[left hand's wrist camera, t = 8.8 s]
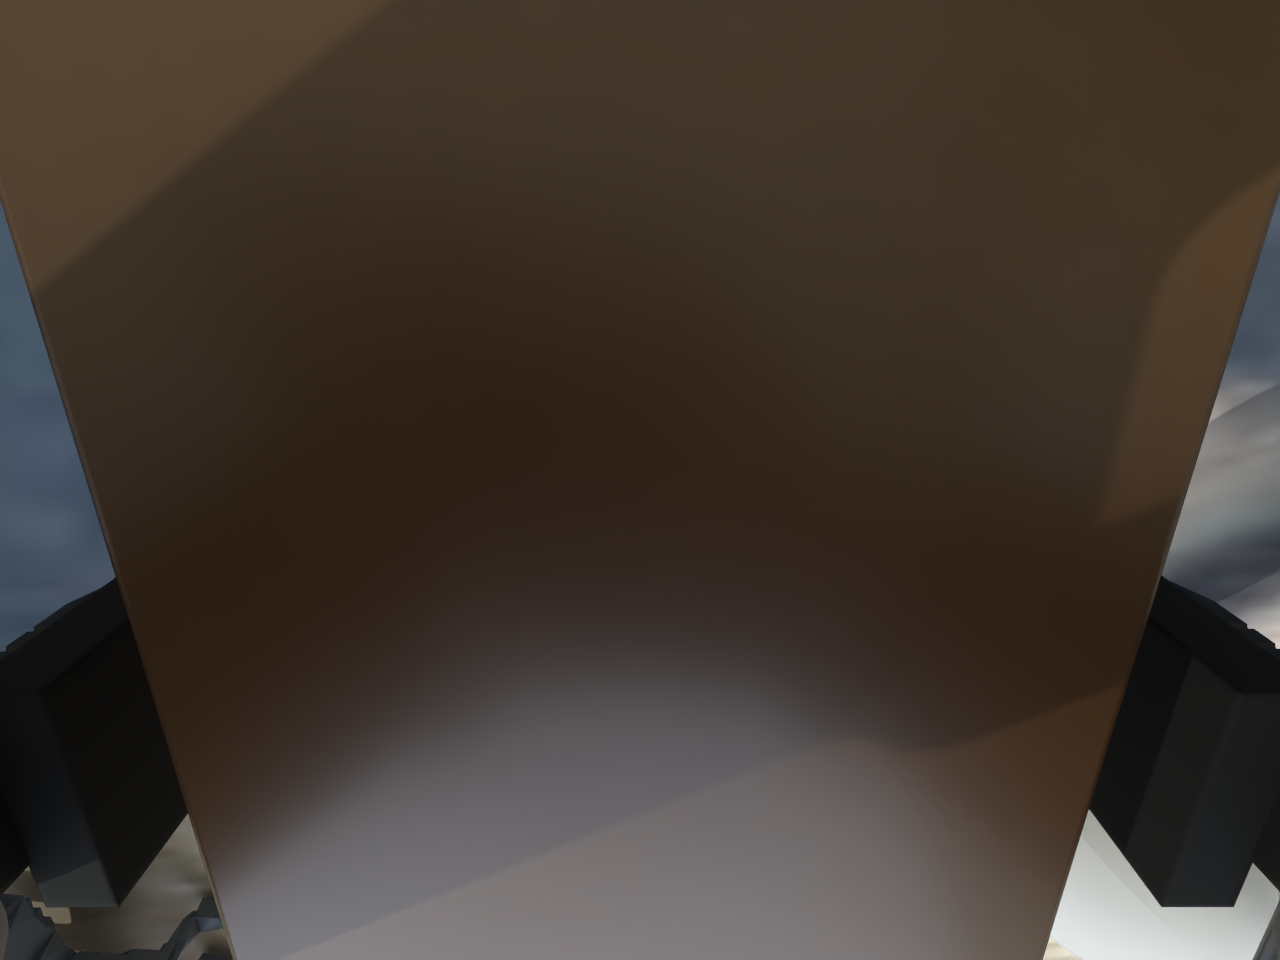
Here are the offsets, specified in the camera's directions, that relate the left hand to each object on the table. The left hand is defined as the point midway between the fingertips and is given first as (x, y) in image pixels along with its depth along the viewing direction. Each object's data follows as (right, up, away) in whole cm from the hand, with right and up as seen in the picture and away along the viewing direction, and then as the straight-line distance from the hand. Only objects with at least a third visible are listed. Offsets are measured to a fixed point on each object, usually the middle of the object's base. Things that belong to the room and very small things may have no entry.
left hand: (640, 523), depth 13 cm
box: (0, +9, -1) cm, 9 cm away
